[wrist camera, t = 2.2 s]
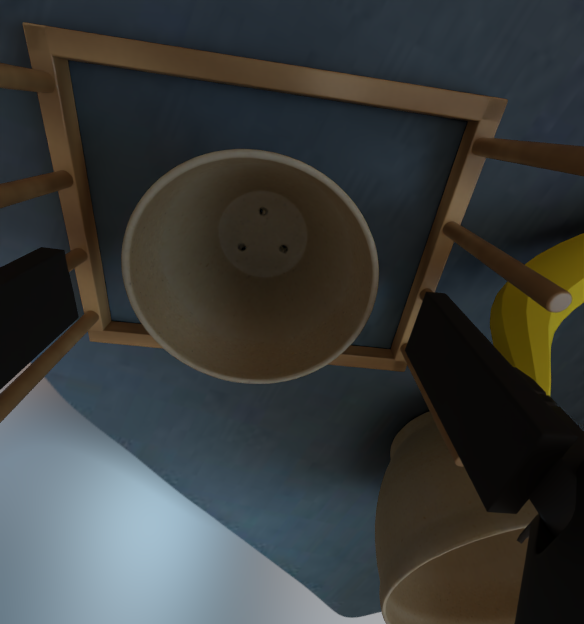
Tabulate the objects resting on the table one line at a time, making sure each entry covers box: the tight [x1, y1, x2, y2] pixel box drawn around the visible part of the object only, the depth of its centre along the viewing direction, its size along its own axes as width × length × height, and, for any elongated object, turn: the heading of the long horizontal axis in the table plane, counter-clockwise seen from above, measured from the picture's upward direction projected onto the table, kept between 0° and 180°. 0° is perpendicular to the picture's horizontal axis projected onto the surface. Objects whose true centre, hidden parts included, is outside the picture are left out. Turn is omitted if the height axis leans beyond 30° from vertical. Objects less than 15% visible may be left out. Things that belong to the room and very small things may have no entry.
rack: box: [0, 22, 584, 467], centre depth 15 cm, size 16×21×10 cm
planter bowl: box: [375, 411, 538, 624], centre depth 24 cm, size 16×16×11 cm
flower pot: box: [121, 149, 379, 384], centre depth 16 cm, size 10×10×7 cm
